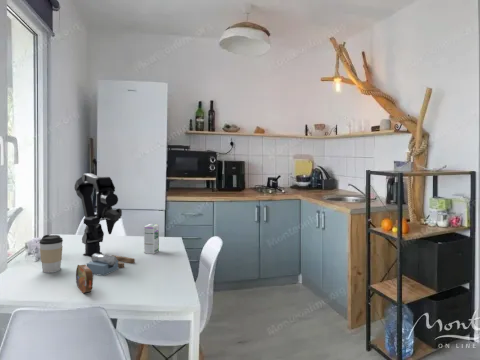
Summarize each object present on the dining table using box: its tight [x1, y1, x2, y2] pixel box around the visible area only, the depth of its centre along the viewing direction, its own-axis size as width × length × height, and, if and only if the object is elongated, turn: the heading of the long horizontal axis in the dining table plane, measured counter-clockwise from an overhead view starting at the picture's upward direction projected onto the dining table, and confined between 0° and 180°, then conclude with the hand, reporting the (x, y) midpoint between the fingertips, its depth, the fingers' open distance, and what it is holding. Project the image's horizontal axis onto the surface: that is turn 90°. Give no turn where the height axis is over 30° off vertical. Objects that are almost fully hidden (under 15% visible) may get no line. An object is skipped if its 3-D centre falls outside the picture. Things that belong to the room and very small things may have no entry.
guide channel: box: [110, 254, 136, 269], centre depth 160 cm, size 13×9×2 cm
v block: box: [86, 260, 119, 276], centre depth 149 cm, size 9×9×4 cm
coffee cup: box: [38, 234, 64, 273], centre depth 148 cm, size 9×9×15 cm
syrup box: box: [143, 223, 160, 255], centre depth 179 cm, size 6×6×14 cm
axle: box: [91, 253, 117, 266], centre depth 149 cm, size 10×4×4 cm, turn 70°
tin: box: [75, 264, 94, 294], centre depth 129 cm, size 15×3×8 cm, turn 38°
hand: (103, 236), depth 162 cm, fingers open, 9 cm apart
